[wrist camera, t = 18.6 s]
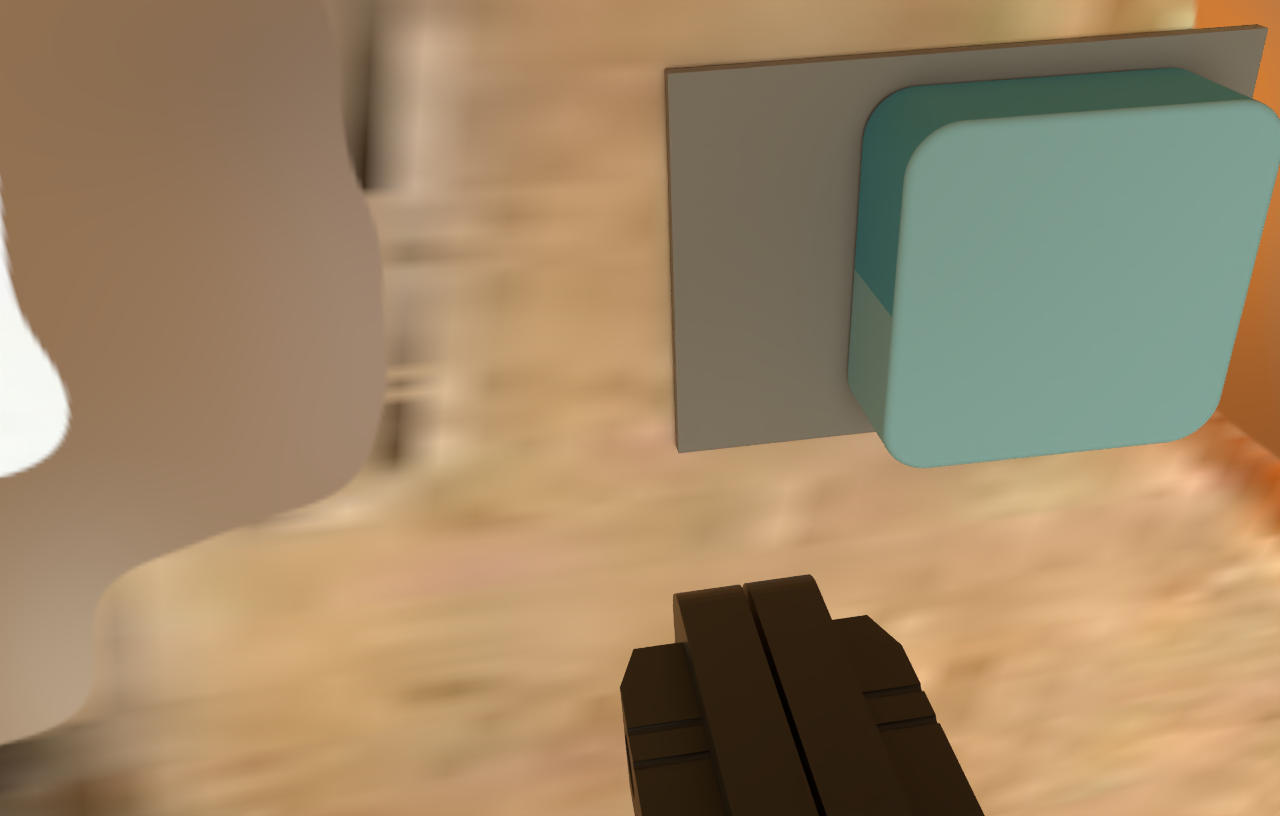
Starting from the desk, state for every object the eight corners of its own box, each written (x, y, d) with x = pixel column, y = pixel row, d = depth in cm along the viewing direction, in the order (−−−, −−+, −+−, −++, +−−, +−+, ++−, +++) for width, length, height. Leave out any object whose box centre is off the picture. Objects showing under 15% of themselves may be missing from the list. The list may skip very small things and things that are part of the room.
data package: (843, 410, 43) (1146, 380, 44) (881, 476, 39) (1213, 440, 40) (863, 87, 37) (1214, 62, 38) (911, 127, 33) (1300, 98, 34)
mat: (664, 69, 36) (667, 73, 36) (1257, 24, 38) (1268, 28, 38) (676, 444, 43) (678, 453, 43) (1175, 390, 45) (1184, 397, 45)
